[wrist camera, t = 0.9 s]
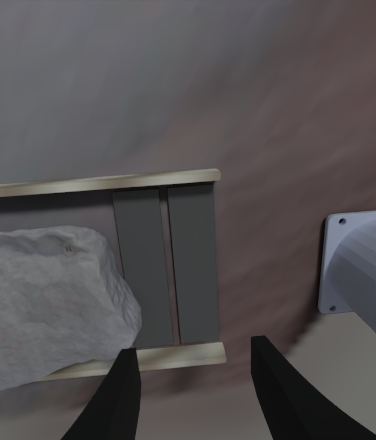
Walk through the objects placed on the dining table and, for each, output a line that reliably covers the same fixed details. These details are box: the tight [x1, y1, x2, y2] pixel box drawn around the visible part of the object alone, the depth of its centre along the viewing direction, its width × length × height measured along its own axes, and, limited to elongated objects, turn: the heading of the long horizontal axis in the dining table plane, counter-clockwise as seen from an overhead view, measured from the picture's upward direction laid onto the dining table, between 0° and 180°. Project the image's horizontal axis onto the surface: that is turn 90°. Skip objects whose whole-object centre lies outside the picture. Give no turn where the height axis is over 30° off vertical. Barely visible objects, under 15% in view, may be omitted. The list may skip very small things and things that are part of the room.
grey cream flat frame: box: [0, 168, 226, 382], centre depth 19 cm, size 24×14×2 cm, turn 94°
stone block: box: [0, 225, 142, 391], centre depth 19 cm, size 12×5×10 cm
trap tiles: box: [112, 184, 219, 348], centre depth 20 cm, size 7×12×1 cm, turn 4°
